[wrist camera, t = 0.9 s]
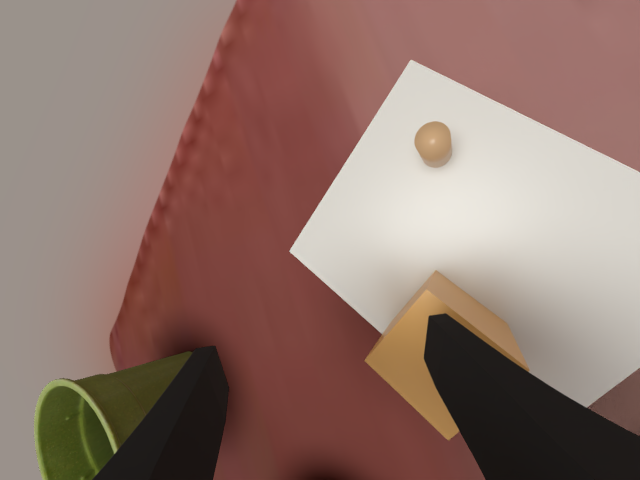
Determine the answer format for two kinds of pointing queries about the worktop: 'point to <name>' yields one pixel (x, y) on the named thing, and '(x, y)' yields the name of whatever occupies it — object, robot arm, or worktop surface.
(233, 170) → the worktop surface
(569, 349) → the plate
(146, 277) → the worktop surface
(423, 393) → the wooden toy cube
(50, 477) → the plant pot
